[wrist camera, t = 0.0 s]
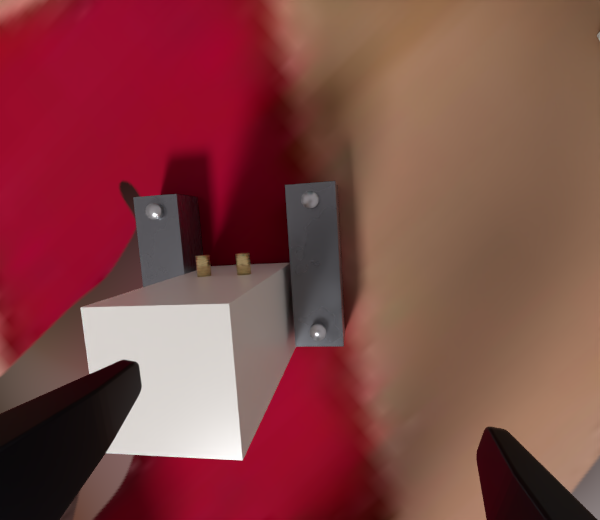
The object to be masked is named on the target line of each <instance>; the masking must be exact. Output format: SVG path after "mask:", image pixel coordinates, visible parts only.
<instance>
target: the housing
mask: <svg viewBox="0 0 600 520" xmlns="http://www.w3.org/2000/svg"><path fill="white" fill-rule="evenodd" d="M285 194H286V209H287V224H288V240H289V255H290V270H291V285H292V300H293V315H294V330H295V345H296V346H344V336H345V321H344V301H343V281H342V261H341V241H340V221H339V202H338V185H337V184H336V182H335V181H328V182H316V183H304V184H292V185H285ZM133 199H134V208H135V217H136V226H137V235H138V243H139V253H140V261H141V270H142V278H143V287H146V286H149V285H152V284H155V283H158V282H162V281H165V280H168V279H171V278H174V277H177V276H180V275H183V274H186V273H190V272H193V271H196V270H197V268H196V258H195V256H196V255H203V250H202V239H201V228H200V217H199V207H198V197H195V196H188V195H181V194H169V195H157V196H145V197H134V198H133Z"/></svg>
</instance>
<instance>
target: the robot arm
mask: <svg viewBox="0 0 600 520" xmlns="http://www.w3.org/2000/svg"><path fill="white" fill-rule="evenodd" d="M141 388H142V383H141V376H140V368H139V364H138V363H137V362H135V361H130V360H120V361H118V362H116V363H114V364H111V365H109V366H107V367H105V368H102V369H100V370H98V371H96V372H93V373H91V374H89V375H87V376H84V377H82V378H80V379H78V380H75V381H73V382H71V383H69V384H66V385H64V386H62V387H60V388H58V389H55V390H53V391H51V392H48V393H46V394H44V395H42V396H39V397H37V398H35V399H33V400H31V401H28V402H26V403H24V404H21V405H19V406H17V407H15V408H12V409H10V410H8V411H5V412H3V413H1V414H0V520H59V519H60V518H61V517H62V515H63V514H64V512H65V511H66V509H67V508H68V507H69V505H70V504H71V502H72V501H73V499H74V498H75V496H76V495H77V494H78V492H79V491H80V489H81V488H82V486H83V485H84V483H85V482H86V480H87V479H88V478H89V476H90V475H91V473H92V472H93V471H94V469H95V467H96V466H97V465H98V463H99V462H100V460H101V459H102V458H103V456H104V455H105V453H106V452H107V450H108V449H109V447H110V445H111V444H112V442H113V440H114V439H115V437H116V435H117V434H118V432H119V430H120V428H121V426H122V425H123V423H124V421H125V419H126V418H127V416H128V414H129V412H130V411H131V409H132V407H133V405H134V403H135V402H136V400H137V398H138V396H139V394H140V392H141ZM477 466H478V472H479V477H480V483H481V489H482V495H483V501H484V507H485V512H486V518H487V520H597V519H596V518H595V517H594V516H593V515H592V514H591V513H590V512H589V511H588V510H587V509H586V508H585V507H584V506H583V505H582V504H581V503H580V502H579V501H578V500H577V499H576V498H575V497H574V496H573V495H572V494H571V493H570V492H569V491H568V490H567V489H566V488H565V487H564V486H563V485H562V484H561V483H560V482H559V481H558V480H557V479H556V478H555V477H554V476H553V475H552V474H551V473H550V472H549V471H548V470H547V469H546V468H545V467H544V466H542V465H541V464H540V463H539V462H538V461H537V460H536V459H535V458H534V457H533V456H532V455H531V454H530V453H529V452H528V451H527V450H526V449H525V448H524V447H523V446H522V445H521V444H520V443H519V442H518V441H517V440H516V439H515V438H514V437H513V436H512V435H511V434H510V433H509V432H508V431H506V430H505V429H501V428H495V427H486V428H485V430H484V433H483V435H482V438H481V441H480V444H479V447H478V450H477Z"/></svg>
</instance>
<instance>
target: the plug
mask: <svg viewBox="0 0 600 520" xmlns="http://www.w3.org/2000/svg"><path fill="white" fill-rule="evenodd" d="M235 256H236V265H225V266H211V264H210V255H209V254H207V255H196V256H195V258H196V268H197V270H196V271H193V272H190V273H186V274H183V275H180V276H177V277H174V278H171V279H168V280H165V281H162V282H158V283H155V284H152V285H149V286H146V287H143V288H140V289H137V290H133V291H130V292H128V293H124V294H121V295H118V296H115V297H112V298H108V299H105V300H102V301H99V302H96V303H93V304H90V305H87V306H84V307H81V314H82V321H83V329H84V337H85V344H86V352H87V360H88V367H89V374H91V373H93V372H96V371H98V370H100V369H102V368H105V367H107V366H109V365H111V364H114V363H116V362H118V361H120V360H130V361H135V362H137V363H138V364H139V368H140V376H141V383H142V388H141V392H140V394H139V396H138V398H137V400H136V402H135V403H134V405H133V407H132V409H131V411H130V412H129V414H128V416H127V418H126V419H125V421H124V423H123V425H122V426H121V428H120V430H119V432H118V434H117V435H116V437H115V439H114V440H113V442H112V444H111V445H110V447H109V449H108V450H107V452H106V453H111V454H130V455H149V456H168V457H188V458H207V459H227V460H243V458H244V456H245V454H246V452H247V450H248V448H249V446H250V443H251V441H252V439H253V437H254V435H255V433H256V431H257V429H258V426H259V424H260V422H261V420H262V418H263V416H264V414H265V411H266V409H267V407H268V405H269V403H270V401H271V399H272V397H273V394H274V392H275V390H276V388H277V386H278V384H279V382H280V379H281V377H282V375H283V373H284V371H285V369H286V367H287V365H288V362H289V360H290V358H291V356H292V354H293V352H294V350H295V348H296V345H295V330H294V315H293V300H292V285H291V270H290V263H270V264H250V253H236V254H235Z"/></svg>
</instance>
